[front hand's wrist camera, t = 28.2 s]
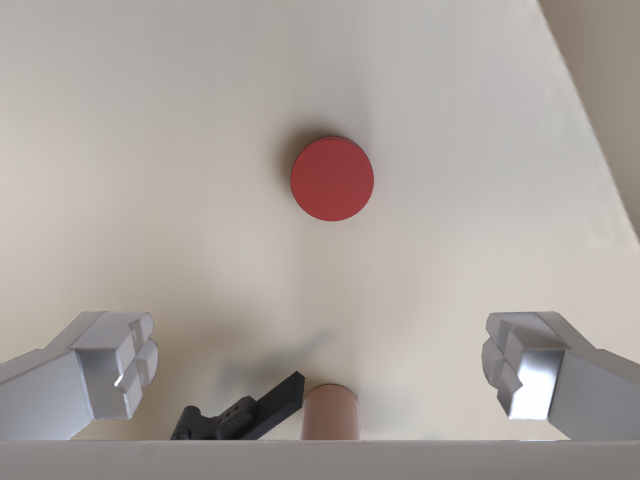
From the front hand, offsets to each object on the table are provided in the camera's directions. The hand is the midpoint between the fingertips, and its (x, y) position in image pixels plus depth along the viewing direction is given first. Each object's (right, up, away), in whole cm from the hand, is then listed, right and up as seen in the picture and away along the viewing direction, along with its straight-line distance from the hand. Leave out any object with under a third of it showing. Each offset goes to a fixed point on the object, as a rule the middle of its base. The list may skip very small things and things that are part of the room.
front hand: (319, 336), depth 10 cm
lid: (+1, +6, +17) cm, 18 cm away
